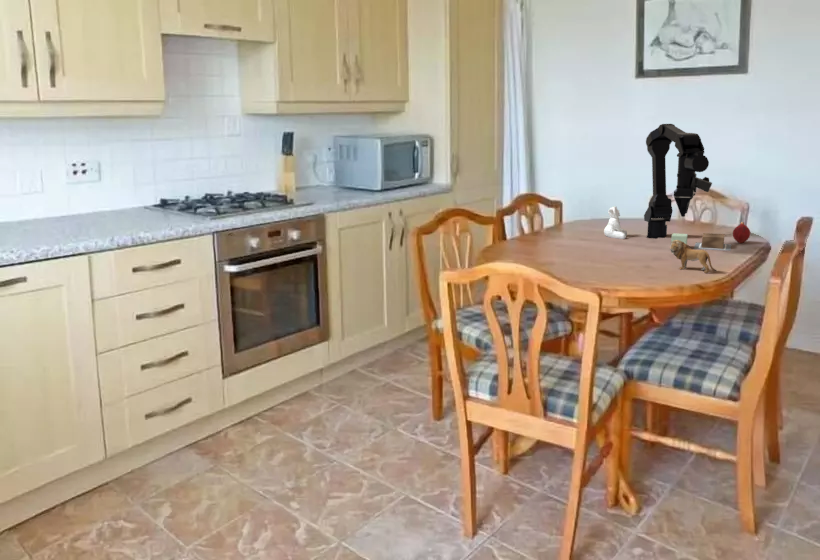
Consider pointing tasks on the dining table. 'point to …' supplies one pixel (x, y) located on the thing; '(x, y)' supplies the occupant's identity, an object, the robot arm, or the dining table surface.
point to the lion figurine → (690, 255)
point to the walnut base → (713, 241)
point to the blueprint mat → (726, 248)
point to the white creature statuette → (614, 225)
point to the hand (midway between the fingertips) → (684, 214)
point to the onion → (741, 233)
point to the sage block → (679, 237)
